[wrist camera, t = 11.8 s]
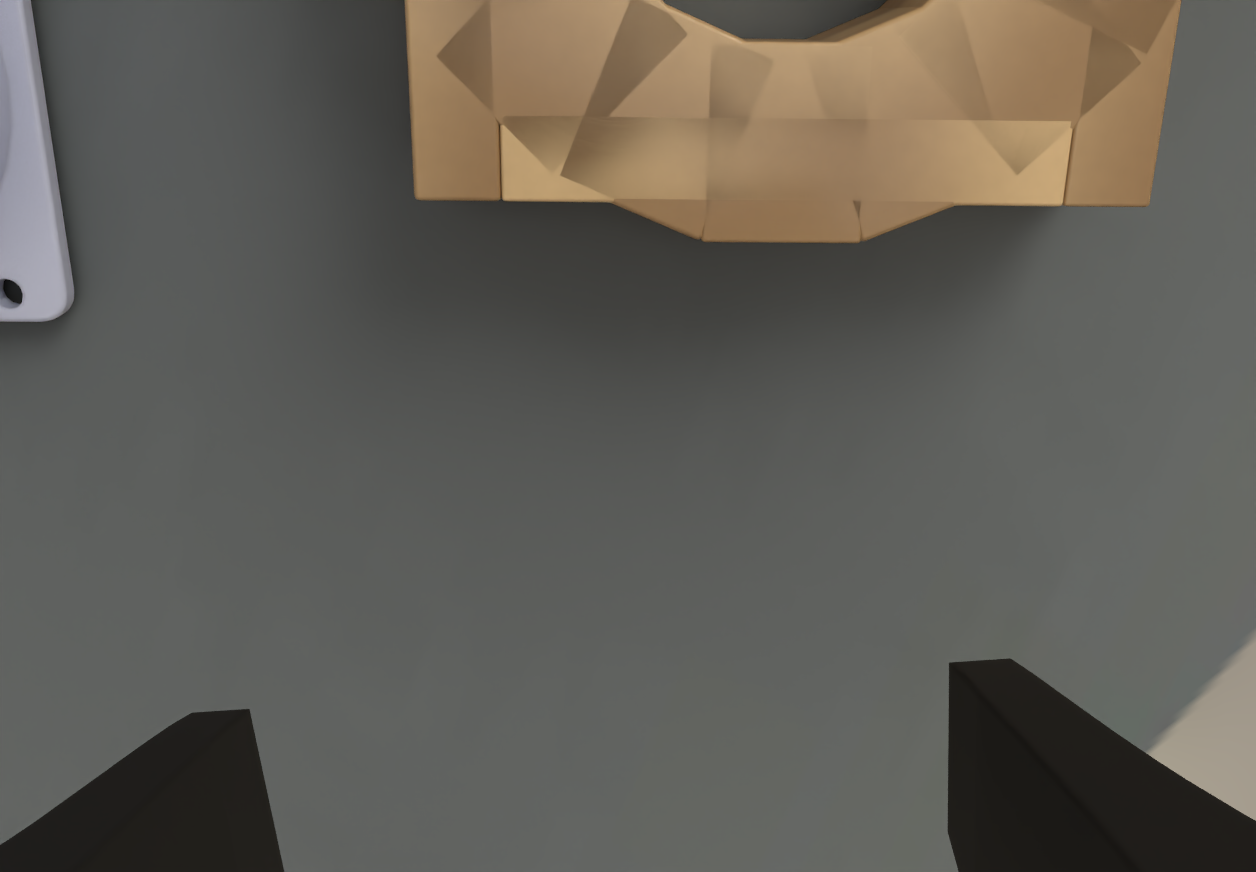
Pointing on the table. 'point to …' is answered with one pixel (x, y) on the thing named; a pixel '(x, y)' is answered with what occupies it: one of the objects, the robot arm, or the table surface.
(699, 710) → the table surface
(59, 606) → the table surface
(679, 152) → the holder
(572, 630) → the table surface
